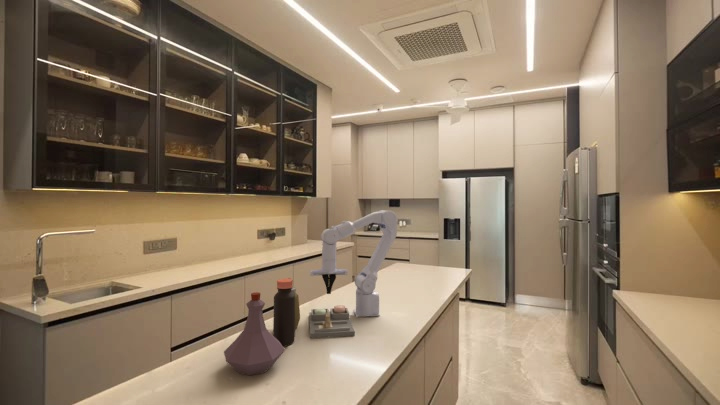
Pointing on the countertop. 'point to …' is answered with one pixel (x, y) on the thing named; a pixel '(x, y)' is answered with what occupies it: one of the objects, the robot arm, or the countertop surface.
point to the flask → (254, 343)
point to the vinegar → (284, 313)
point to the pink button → (339, 309)
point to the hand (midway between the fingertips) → (328, 293)
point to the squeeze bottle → (296, 307)
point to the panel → (339, 325)
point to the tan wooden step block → (327, 321)
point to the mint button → (319, 311)
